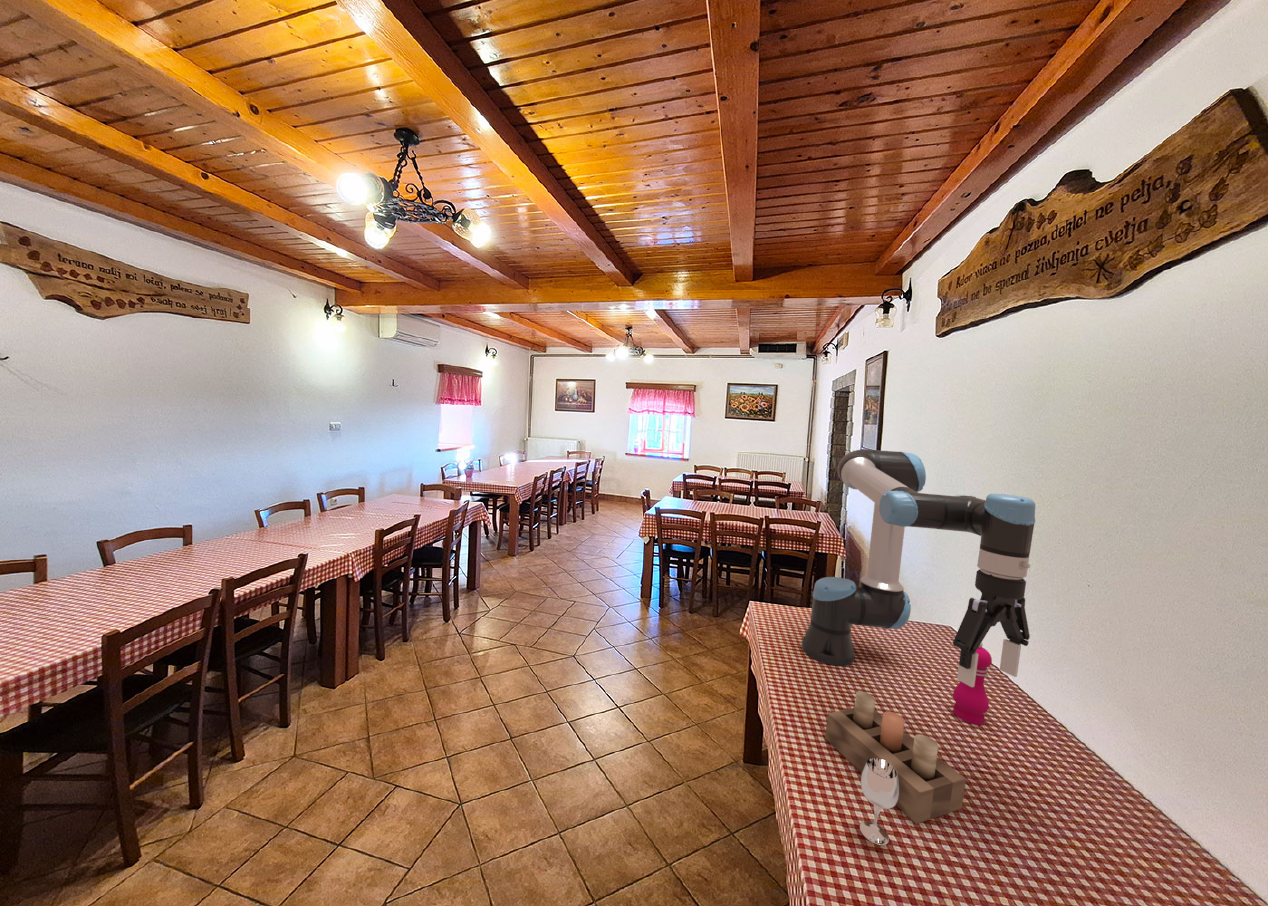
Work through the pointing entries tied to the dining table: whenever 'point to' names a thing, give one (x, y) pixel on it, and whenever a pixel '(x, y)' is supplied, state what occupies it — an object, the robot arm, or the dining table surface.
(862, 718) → the far beech plug
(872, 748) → the walnut socket block
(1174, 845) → the dining table surface
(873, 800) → the wineglass
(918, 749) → the near beech plug
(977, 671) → the pepper mill
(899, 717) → the rust plug
